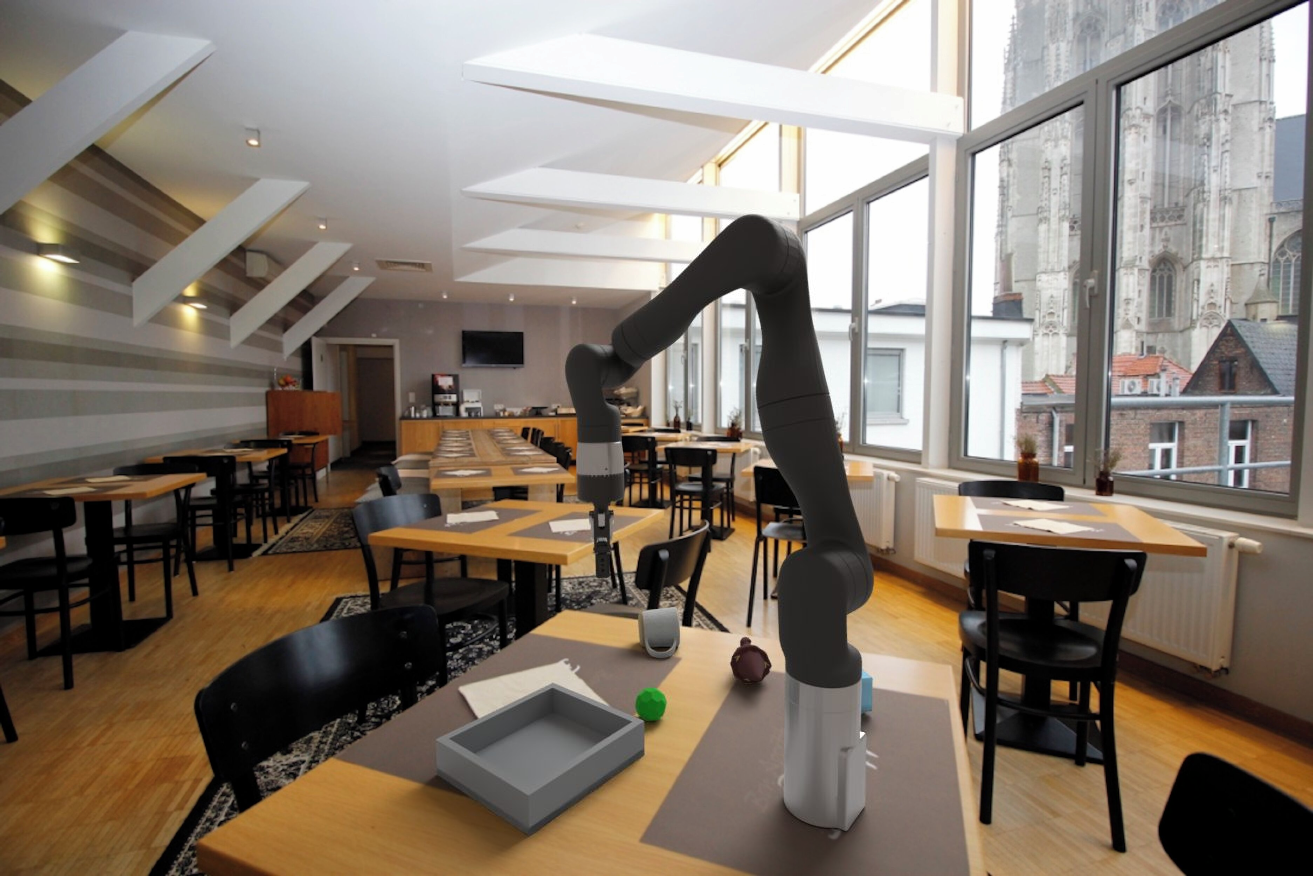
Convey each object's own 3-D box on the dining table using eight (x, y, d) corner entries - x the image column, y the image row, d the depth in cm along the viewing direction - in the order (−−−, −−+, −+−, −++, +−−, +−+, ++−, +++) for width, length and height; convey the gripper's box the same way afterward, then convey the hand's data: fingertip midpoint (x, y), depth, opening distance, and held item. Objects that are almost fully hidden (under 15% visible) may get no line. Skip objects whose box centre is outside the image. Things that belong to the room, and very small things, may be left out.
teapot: (808, 690, 110) (808, 648, 110) (840, 686, 111) (841, 645, 111) (841, 725, 98) (842, 678, 98) (876, 721, 100) (877, 675, 99)
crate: (644, 754, 91) (644, 721, 90) (529, 836, 74) (528, 795, 74) (553, 712, 103) (553, 682, 102) (436, 774, 86) (435, 739, 86)
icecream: (785, 663, 106) (765, 637, 121) (742, 653, 106) (727, 628, 120) (775, 704, 106) (756, 672, 121) (732, 694, 105) (719, 663, 120)
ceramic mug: (637, 639, 133) (637, 603, 132) (675, 637, 134) (675, 601, 133) (642, 661, 122) (642, 622, 122) (683, 658, 123) (683, 620, 123)
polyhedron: (630, 714, 102) (630, 686, 102) (658, 708, 104) (658, 680, 104) (642, 729, 97) (642, 699, 97) (671, 722, 99) (671, 693, 99)
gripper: (625, 474, 94) (628, 582, 95) (622, 465, 108) (624, 558, 109) (574, 476, 93) (577, 584, 94) (578, 466, 107) (580, 560, 108)
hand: (602, 570), depth 102 cm, fingers open, 8 cm apart
